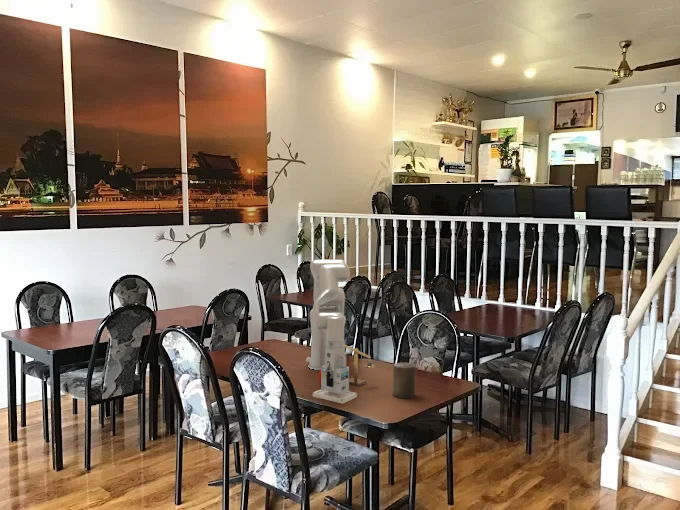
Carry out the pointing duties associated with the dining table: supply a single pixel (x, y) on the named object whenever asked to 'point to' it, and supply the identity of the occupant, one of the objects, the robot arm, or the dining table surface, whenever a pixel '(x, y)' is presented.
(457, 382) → the dining table surface
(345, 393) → the platter
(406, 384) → the pillar candle
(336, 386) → the light bulb box
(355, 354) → the balance
